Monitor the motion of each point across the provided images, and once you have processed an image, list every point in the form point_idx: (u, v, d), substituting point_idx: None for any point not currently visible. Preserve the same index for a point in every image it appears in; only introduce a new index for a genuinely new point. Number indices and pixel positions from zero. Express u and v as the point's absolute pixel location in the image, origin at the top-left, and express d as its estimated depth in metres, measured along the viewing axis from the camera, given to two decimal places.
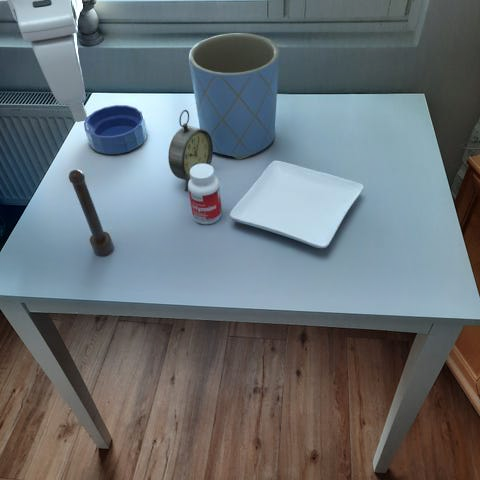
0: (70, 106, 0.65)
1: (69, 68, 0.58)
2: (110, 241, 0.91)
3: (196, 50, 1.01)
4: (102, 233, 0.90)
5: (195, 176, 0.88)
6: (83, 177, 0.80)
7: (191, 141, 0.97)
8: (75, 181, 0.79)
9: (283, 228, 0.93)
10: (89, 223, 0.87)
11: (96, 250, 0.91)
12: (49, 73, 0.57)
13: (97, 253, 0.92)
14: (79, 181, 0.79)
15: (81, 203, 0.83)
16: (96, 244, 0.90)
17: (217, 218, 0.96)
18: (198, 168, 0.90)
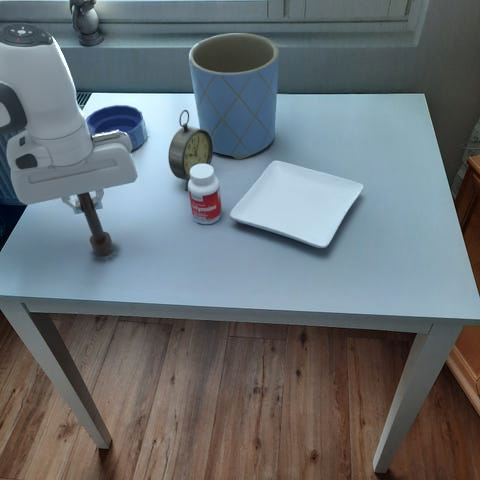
0: None
1: None
2: (110, 241, 0.91)
3: (196, 50, 1.01)
4: (102, 233, 0.90)
5: (195, 176, 0.88)
6: None
7: (191, 141, 0.97)
8: None
9: (283, 228, 0.93)
10: (89, 223, 0.87)
11: (96, 250, 0.91)
12: None
13: (97, 253, 0.92)
14: None
15: (81, 203, 0.83)
16: (96, 244, 0.90)
17: (217, 218, 0.96)
18: (198, 168, 0.90)
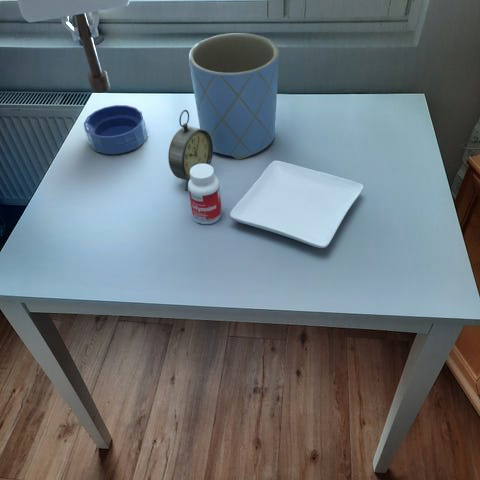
0: None
1: None
2: (106, 77, 0.99)
3: (196, 50, 1.01)
4: (99, 67, 0.97)
5: (195, 176, 0.88)
6: None
7: (191, 141, 0.97)
8: None
9: (283, 228, 0.93)
10: (86, 53, 0.95)
11: (93, 85, 0.99)
12: None
13: (94, 89, 1.00)
14: None
15: (79, 28, 0.91)
16: (94, 77, 0.98)
17: (217, 218, 0.96)
18: (198, 168, 0.90)
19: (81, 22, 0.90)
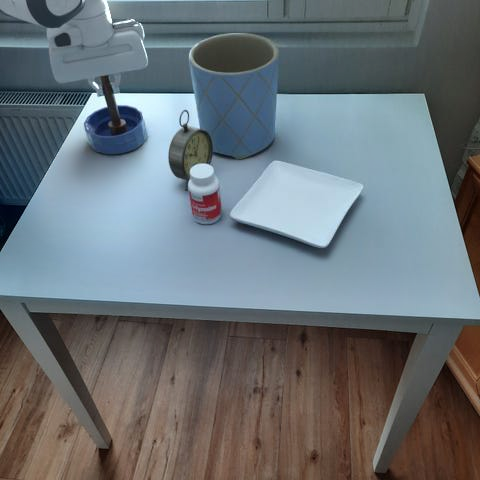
0: None
1: (50, 61, 0.97)
2: (125, 125, 1.12)
3: (196, 50, 1.01)
4: (119, 117, 1.10)
5: (195, 176, 0.88)
6: None
7: (191, 141, 0.97)
8: None
9: (283, 228, 0.93)
10: (108, 106, 1.07)
11: (113, 133, 1.12)
12: None
13: None
14: None
15: (103, 86, 1.04)
16: (114, 126, 1.11)
17: (217, 218, 0.96)
18: (198, 168, 0.90)
19: (105, 82, 1.03)
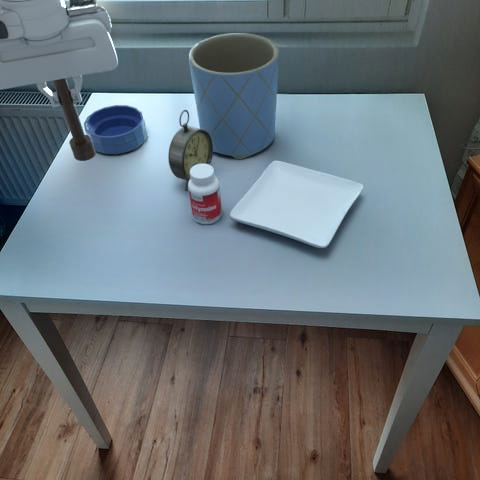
0: None
1: None
2: (91, 144, 0.86)
3: (196, 50, 1.01)
4: (82, 133, 0.85)
5: (195, 176, 0.88)
6: None
7: (191, 141, 0.97)
8: None
9: (283, 228, 0.93)
10: (68, 119, 0.82)
11: (76, 153, 0.86)
12: None
13: (77, 157, 0.87)
14: None
15: (58, 93, 0.78)
16: (76, 145, 0.85)
17: (217, 218, 0.96)
18: (198, 168, 0.90)
19: (61, 87, 0.77)
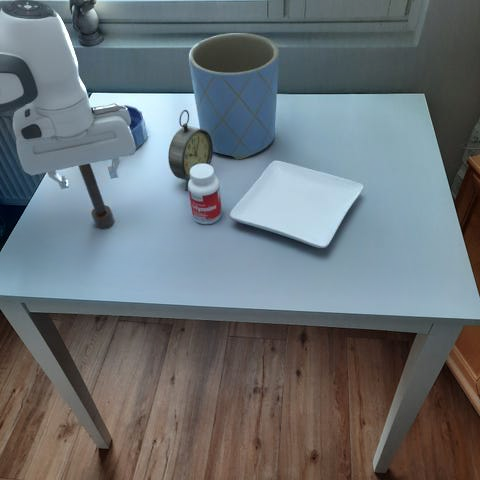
0: None
1: None
2: (111, 214, 0.96)
3: (196, 50, 1.01)
4: (103, 206, 0.94)
5: (195, 176, 0.88)
6: None
7: (191, 141, 0.97)
8: None
9: (283, 228, 0.93)
10: (91, 196, 0.92)
11: (97, 223, 0.96)
12: None
13: (98, 226, 0.97)
14: None
15: (83, 176, 0.88)
16: (98, 216, 0.95)
17: (217, 218, 0.96)
18: (198, 168, 0.90)
19: (86, 171, 0.87)
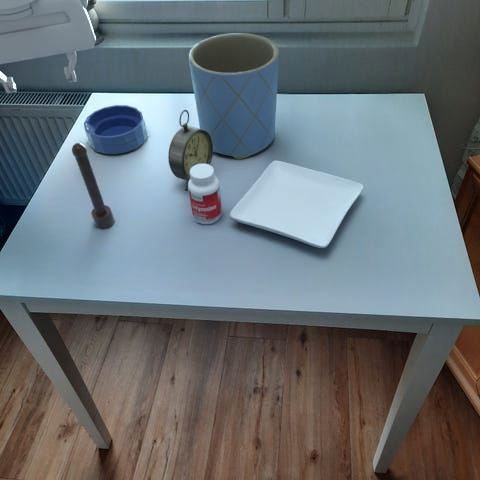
0: None
1: None
2: (111, 214, 0.96)
3: (196, 50, 1.01)
4: (103, 206, 0.94)
5: (195, 176, 0.88)
6: (85, 150, 0.84)
7: (191, 141, 0.97)
8: (78, 154, 0.84)
9: (283, 228, 0.93)
10: (91, 196, 0.92)
11: (97, 223, 0.96)
12: None
13: (98, 226, 0.97)
14: (81, 153, 0.84)
15: (83, 176, 0.88)
16: (98, 216, 0.95)
17: (217, 218, 0.96)
18: (198, 168, 0.90)
19: (86, 171, 0.87)
